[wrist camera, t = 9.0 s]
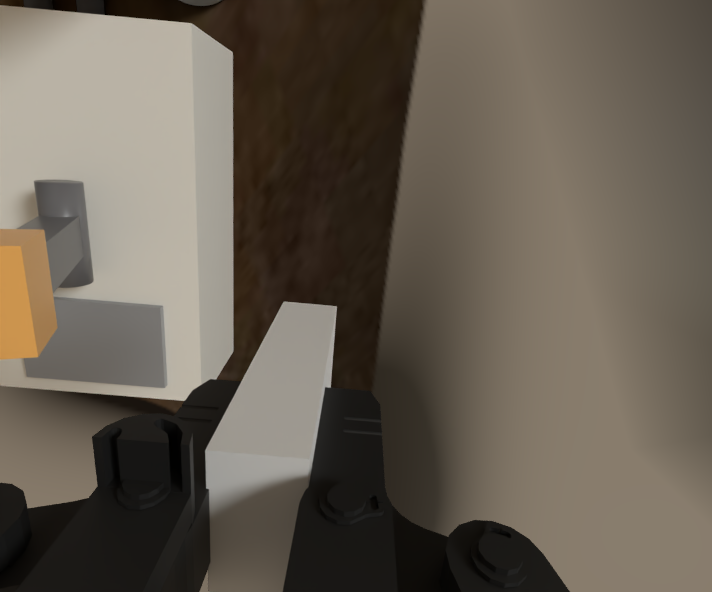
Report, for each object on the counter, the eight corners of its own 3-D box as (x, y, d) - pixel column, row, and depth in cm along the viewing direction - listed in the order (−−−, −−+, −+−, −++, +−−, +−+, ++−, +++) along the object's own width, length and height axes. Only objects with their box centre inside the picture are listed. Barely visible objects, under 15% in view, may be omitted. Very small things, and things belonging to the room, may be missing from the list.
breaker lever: (35, 178, 22) (-91, 219, 12) (91, 181, 23) (17, 222, 13) (49, 276, 24) (-52, 383, 14) (101, 275, 24) (41, 376, 15)
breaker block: (33, 33, 27) (-82, -5, 20) (232, 52, 27) (188, 21, 20) (71, 337, 33) (-6, 389, 26) (233, 351, 34) (199, 405, 27)
